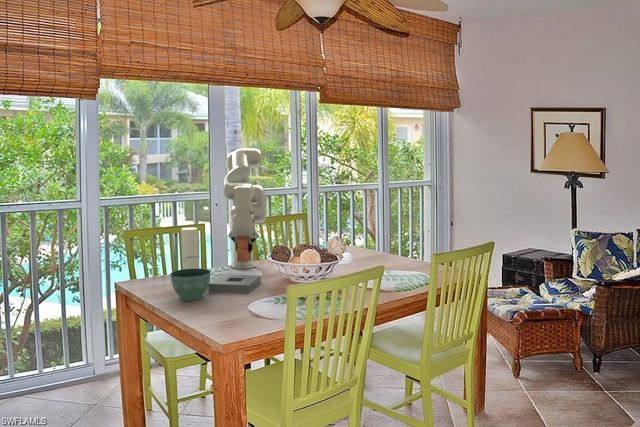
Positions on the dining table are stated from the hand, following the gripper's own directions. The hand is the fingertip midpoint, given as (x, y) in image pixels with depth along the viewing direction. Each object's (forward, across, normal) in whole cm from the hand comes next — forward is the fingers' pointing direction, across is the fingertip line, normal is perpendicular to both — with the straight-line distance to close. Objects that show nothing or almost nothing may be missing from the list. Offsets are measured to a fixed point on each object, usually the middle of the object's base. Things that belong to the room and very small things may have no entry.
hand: (244, 251), depth 282 cm
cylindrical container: (+13, +22, +11) cm, 28 cm away
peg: (+5, 0, 0) cm, 5 cm away
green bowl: (+13, +12, +35) cm, 39 cm away
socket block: (+13, 0, +15) cm, 20 cm away
